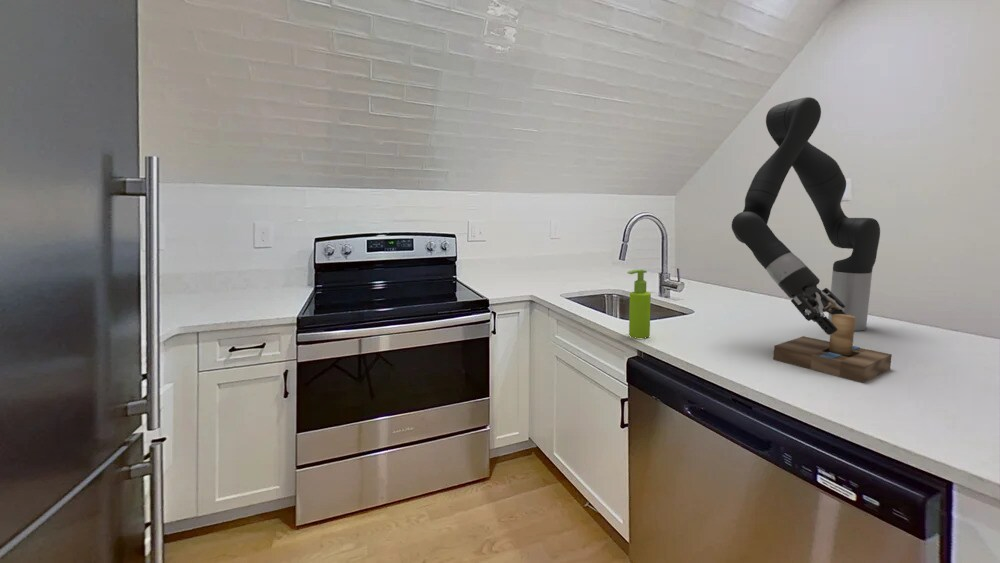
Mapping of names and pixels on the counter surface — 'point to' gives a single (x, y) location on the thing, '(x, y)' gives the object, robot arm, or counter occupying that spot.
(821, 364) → the board
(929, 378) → the counter surface
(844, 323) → the upright wooden block
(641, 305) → the soap dispenser
